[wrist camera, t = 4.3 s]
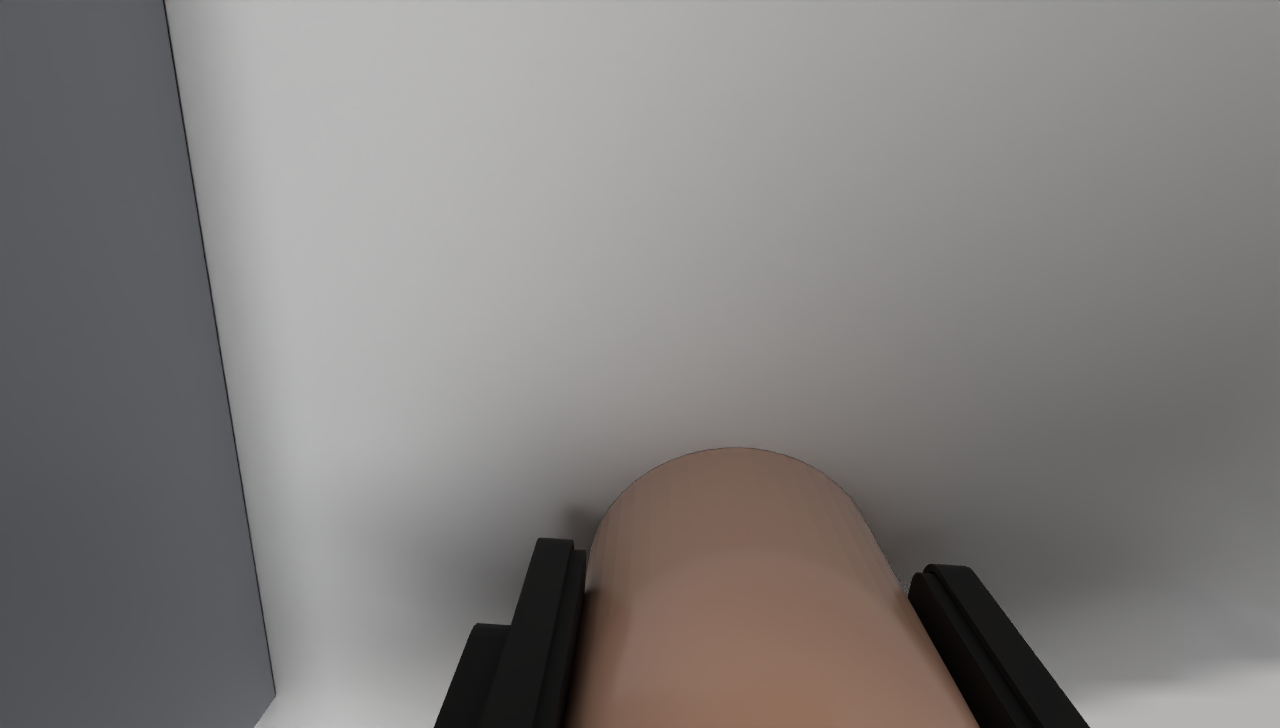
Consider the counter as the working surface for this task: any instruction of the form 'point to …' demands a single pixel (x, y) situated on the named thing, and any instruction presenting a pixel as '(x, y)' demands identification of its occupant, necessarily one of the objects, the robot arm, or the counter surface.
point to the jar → (749, 608)
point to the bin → (112, 395)
